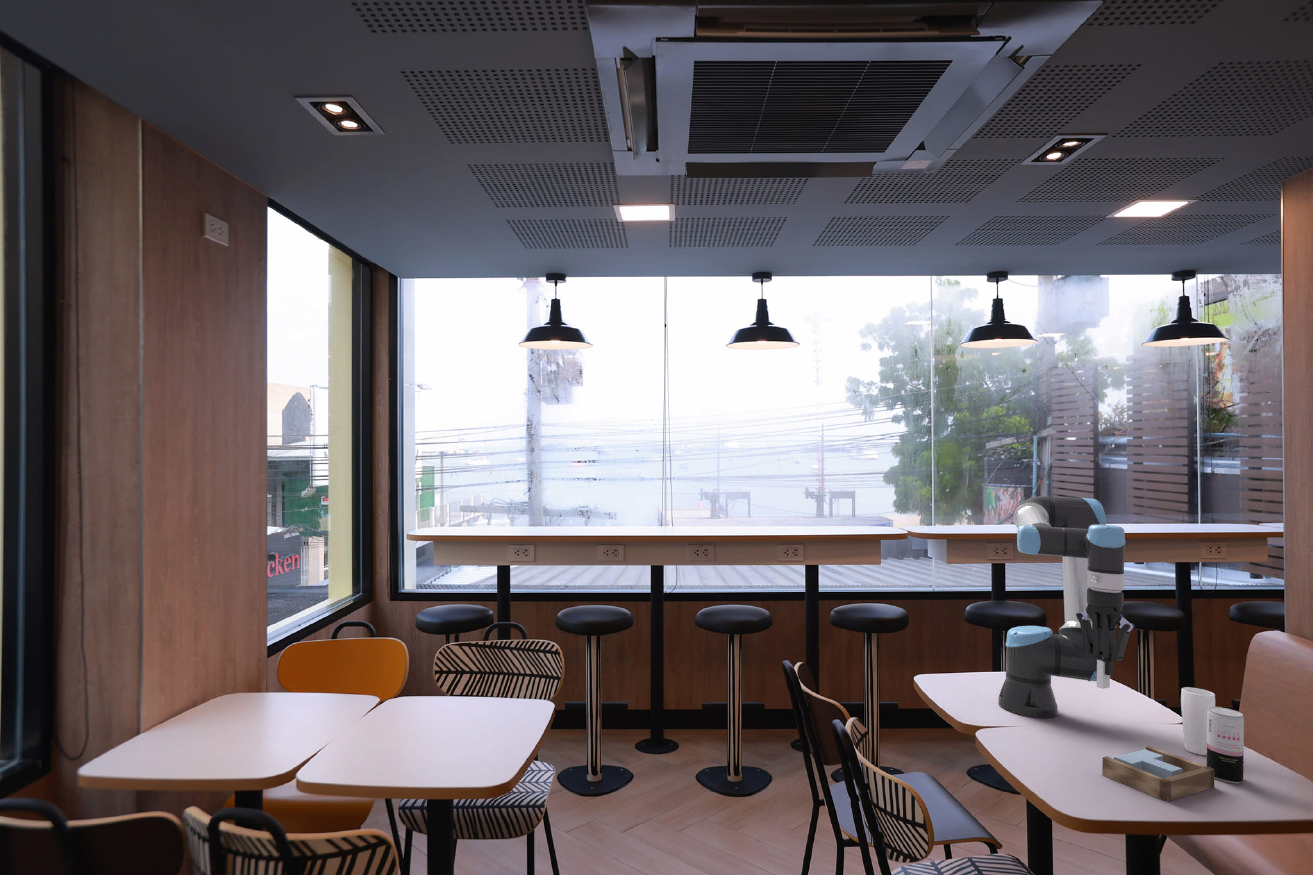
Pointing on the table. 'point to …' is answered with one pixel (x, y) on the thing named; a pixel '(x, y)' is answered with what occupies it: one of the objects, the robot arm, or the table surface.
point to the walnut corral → (1162, 788)
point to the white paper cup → (1195, 718)
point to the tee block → (1149, 763)
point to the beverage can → (1225, 744)
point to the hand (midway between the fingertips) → (1103, 686)
